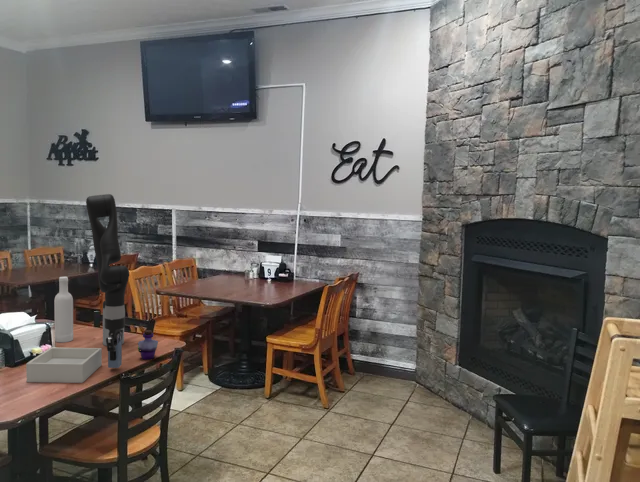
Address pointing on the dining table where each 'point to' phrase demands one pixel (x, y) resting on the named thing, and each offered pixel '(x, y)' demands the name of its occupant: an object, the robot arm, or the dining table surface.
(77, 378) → the walled box
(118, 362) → the peg
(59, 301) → the bottle
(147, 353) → the potion bottle
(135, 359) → the dining table surface
